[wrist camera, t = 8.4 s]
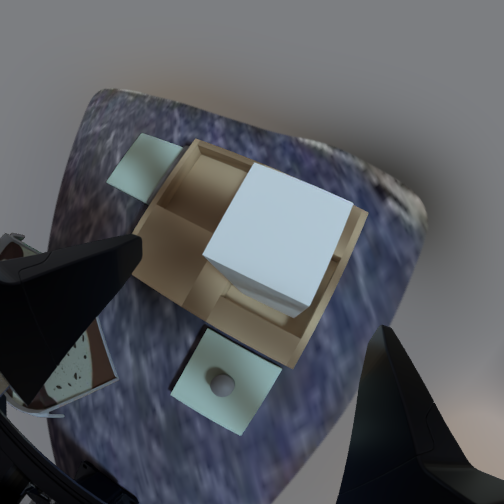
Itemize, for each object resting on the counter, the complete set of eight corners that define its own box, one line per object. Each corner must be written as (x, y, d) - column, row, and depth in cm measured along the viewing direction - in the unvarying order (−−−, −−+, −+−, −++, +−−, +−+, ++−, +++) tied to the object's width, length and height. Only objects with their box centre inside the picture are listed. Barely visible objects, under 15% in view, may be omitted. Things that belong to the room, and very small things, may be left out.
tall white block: (293, 318, 20) (309, 306, 9) (242, 293, 21) (202, 254, 10) (317, 267, 20) (353, 203, 10) (267, 244, 21) (254, 162, 11)
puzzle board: (247, 436, 18) (244, 446, 16) (49, 291, 23) (36, 288, 21) (361, 222, 22) (368, 212, 20) (146, 132, 26) (138, 120, 24)
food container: (43, 286, 23) (-34, 262, 13) (85, 261, 23) (5, 225, 13) (77, 409, 20) (-3, 428, 10) (126, 396, 20) (42, 423, 10)
